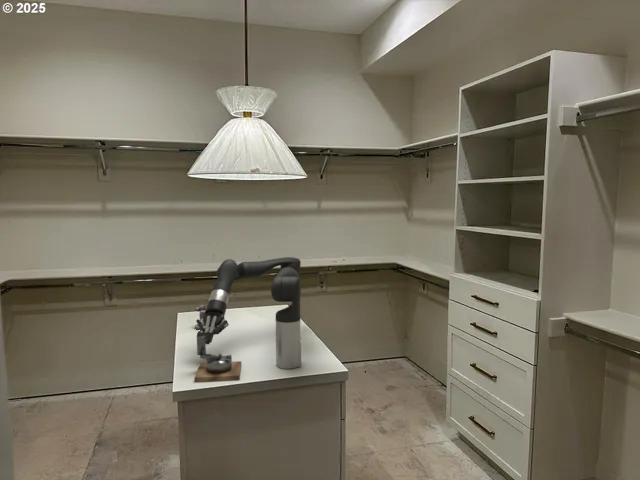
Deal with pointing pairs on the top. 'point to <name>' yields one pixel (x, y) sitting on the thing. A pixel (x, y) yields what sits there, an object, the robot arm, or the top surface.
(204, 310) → the figurine
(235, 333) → the top surface
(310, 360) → the top surface
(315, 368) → the top surface
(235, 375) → the walnut cap plate
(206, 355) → the grey bent piece
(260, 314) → the top surface
